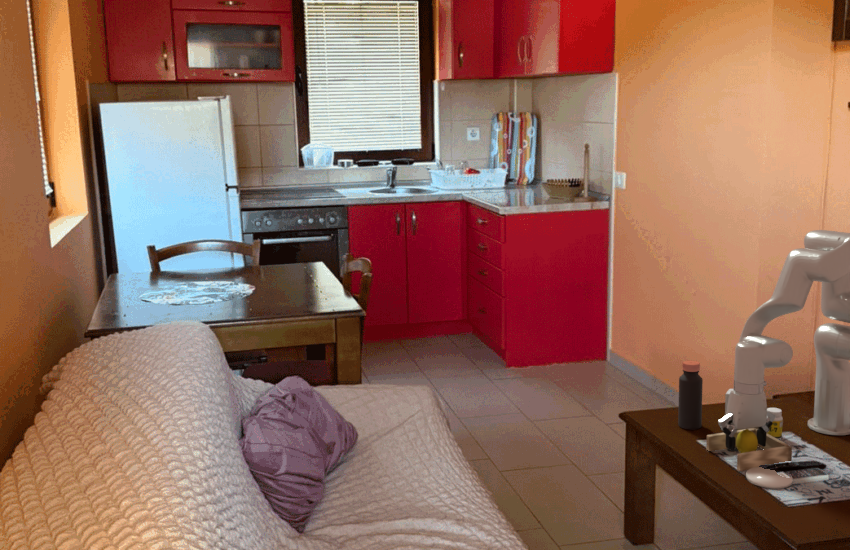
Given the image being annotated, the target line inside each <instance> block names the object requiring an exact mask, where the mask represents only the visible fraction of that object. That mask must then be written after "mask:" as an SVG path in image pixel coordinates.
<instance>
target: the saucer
mask: <svg viewBox="0 0 850 550" xmlns="http://www.w3.org/2000/svg"><path fill="white" fill-rule="evenodd" d="M745 478H746V480H747V481H748V482H749V483H750V484H752V485H754V486H758V487H760V488H765V489H772V490H773V489H774V490H778V489H780V490H781V489H787V488H790V487H791V486H792V485H793V481H794V480H793V479H794V478H793V476H792V475H791V477H790V478H786V477H782V476H780V475H778V474H777V472H776V471H775V470H770V469H764V468H762V467H754V468H751V469H749V470H746V473H745ZM792 480H793V481H792Z"/></svg>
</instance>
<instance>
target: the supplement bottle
mask: <svg viewBox="0 0 850 550" xmlns="http://www.w3.org/2000/svg"><path fill="white" fill-rule="evenodd" d="M767 411H768V412H770V413H772V414H774V415H776V417H775V419H774V421H773V422H772V423H773V424H772V426H771V427H770V428H769V432H767V434H769V435H771V436H773V437H775V438H776V439H780V440H781V439H782V438H783V425H784V424H783V423H784V419H783V416H782V414H783V413H782V412H783V411H782V409H781V408H777V407H767ZM767 418H768V416H767Z"/></svg>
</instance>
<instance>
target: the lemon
mask: <svg viewBox="0 0 850 550" xmlns="http://www.w3.org/2000/svg"><path fill="white" fill-rule="evenodd" d="M742 430H743V429H742ZM758 448H759V447H758V441H757V437H756V435H755V434H754V433H753V432H752V431H750V430H749V429H746V430H743V431H741V432H740V433H739V434H738V436H737V439H736V449H737V451H738V452H739V453H745V452H751V451H757V450H758Z"/></svg>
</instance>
